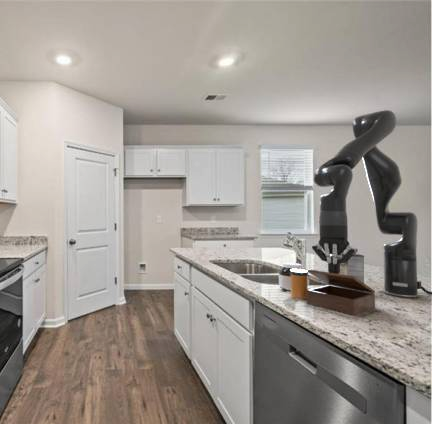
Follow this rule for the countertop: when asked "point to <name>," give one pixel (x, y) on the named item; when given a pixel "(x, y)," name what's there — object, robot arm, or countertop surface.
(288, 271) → the spread jar
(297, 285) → the jar
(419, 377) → the countertop surface
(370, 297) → the chest
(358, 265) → the coffee box
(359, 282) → the chest lid
